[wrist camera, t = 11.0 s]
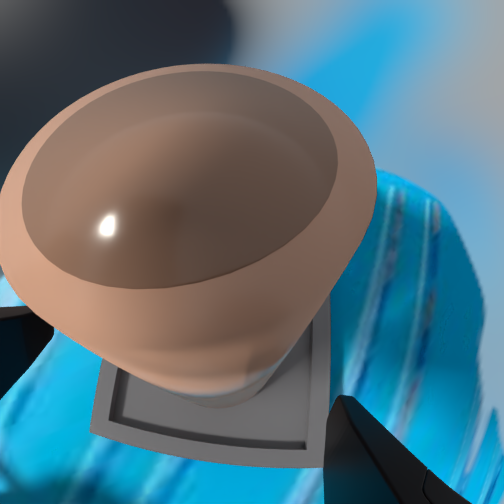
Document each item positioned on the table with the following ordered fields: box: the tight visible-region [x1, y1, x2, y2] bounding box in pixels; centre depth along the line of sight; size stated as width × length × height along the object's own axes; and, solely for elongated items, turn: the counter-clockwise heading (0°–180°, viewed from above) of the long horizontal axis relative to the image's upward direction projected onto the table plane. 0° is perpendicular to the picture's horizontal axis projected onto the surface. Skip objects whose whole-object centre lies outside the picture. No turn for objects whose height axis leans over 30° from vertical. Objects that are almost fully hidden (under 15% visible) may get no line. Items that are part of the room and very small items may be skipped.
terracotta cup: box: [0, 64, 377, 408], centre depth 10 cm, size 6×6×13 cm
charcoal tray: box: [90, 293, 331, 468], centre depth 15 cm, size 12×12×1 cm
